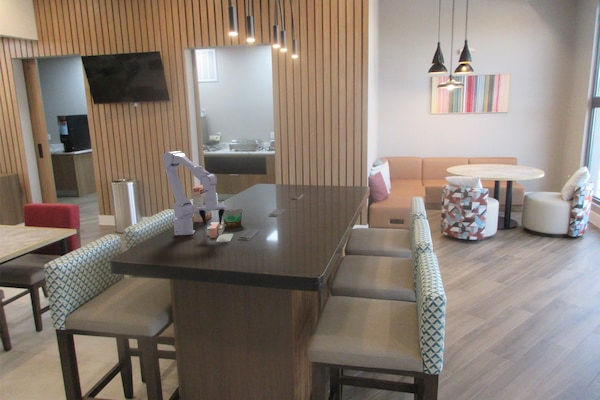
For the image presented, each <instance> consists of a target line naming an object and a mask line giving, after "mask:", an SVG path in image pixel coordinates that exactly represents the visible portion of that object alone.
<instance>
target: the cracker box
mask: <svg viewBox="0 0 600 400" xmlns="http://www.w3.org/2000/svg"><path fill="white" fill-rule="evenodd" d="M191 193H192V195H191V196H192V205H193V206H194V209H195V211H194V213H193V221H194V223H204V222H203V219H202V217H201V216H200V214H199V211H198V212H197V207H204V206H206V204H205V192H204V189H203V185H202V184H199V185H196V186H194V187H191ZM211 218H213V217H212V211H206V221H207V220H209V219H211Z"/></svg>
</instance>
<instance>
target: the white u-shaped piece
mask: <svg viewBox="0 0 600 400" xmlns="http://www.w3.org/2000/svg"><path fill="white" fill-rule="evenodd" d="M212 224H219V221H214V222H213V221H212V222H210V223H209V227H208V228H207V229H206V231H207V233H206V234H207V236H208V237H210V232H209V228H210V227H211V225H212ZM225 228H226V227H225V226H224V221H221V224H219V228H218V231H219V234H218V236H219V235H220V234H223V233H224V231H225Z"/></svg>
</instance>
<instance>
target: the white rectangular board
mask: <svg viewBox="0 0 600 400" xmlns="http://www.w3.org/2000/svg"><path fill="white" fill-rule="evenodd" d="M233 237H234V233H224V234H223V233H222V234H220V235H219V234H218V236H217V239H216V241H215V243H231V241H232V240H233Z"/></svg>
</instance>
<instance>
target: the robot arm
mask: <svg viewBox="0 0 600 400" xmlns="http://www.w3.org/2000/svg"><path fill="white" fill-rule="evenodd" d="M161 158H162V163H163V165H164V172H165V174H166V177H167V180H168V182H169V185H170V188H171V191H172V194H173V196H174V200H175V202H174V203H173V209H174V210H173V213H174V215H175V217H174V218H173V230H174V236H188V235H189V236H191V235H194V233H195V232H196V230H195V229H194V223H193V217H194V211H195V209H194V206H193V202H192V201H191V200H190V199H188V198H187V197H186V194H185V191H184V188H183V186H182V183H181V180H180V177H179V174H178V171H177V170H178V167H180V165H182V166H183V167H186V169H188V170H189V171H191V173H192V175H193V177H195V178H196V179H198V181H200V183H201V184H200V185H203V189H204V192H205V204H206V206H204V207H197V212H198V211H199V214H200V216H201V217H202V219H203V222H202V223H203V225H204V226H206V225H207V220H206V211H211V212H213V211H218V212H217V213H218V222H219V224H221V222H223V221H222V220H223V213H224V210H227V205H218V200H217V188H216V185H217V184H218V177H217V175H216V174H214V173H210V172H209V171H207V170H206V169H204V167H203V166H202V165H196V164H195V163H193V161H191V159H189V158H188V156H186V153H184V152H183V151H181V150H177V151H176V150H175V151H165V152H164V154H163V155H162V157H161Z"/></svg>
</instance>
